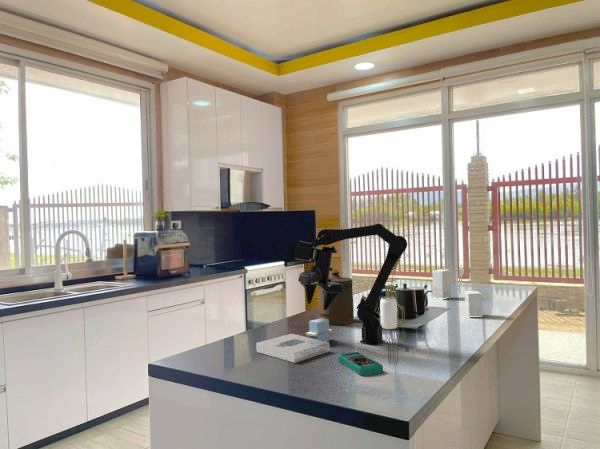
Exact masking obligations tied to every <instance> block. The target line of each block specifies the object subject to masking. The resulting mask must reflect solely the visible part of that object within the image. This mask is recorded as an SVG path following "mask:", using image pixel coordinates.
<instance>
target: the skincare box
mask: <svg viewBox="0 0 600 449" xmlns="http://www.w3.org/2000/svg"><path fill="white" fill-rule="evenodd" d="M431 272H432V298H433V297H436V298H446V297H450V296H451V297H452V290H451V288H452V286H451V285H452V284H451V280H452V279H451V269H444V268H440V269H439V268H438V269H435V270H434V269H433V270H432V271H431Z"/></svg>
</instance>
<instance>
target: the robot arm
mask: <svg viewBox="0 0 600 449" xmlns="http://www.w3.org/2000/svg"><path fill="white" fill-rule="evenodd" d="M369 236H371V237H372V236H378V238H380V239H381V240H383V241H385V243H387V244H388V250H387V253H386V257H385V259H384V261H383V264H382V266H381V268H380V270H379V272H378V274H377V276H376V278H375V280H374V282H373V285H372V287H371V288H370V291H369V293H368V294H367V295H366V296H365V295H362V296H361V298H360V301H359V303H358V304H357V306H356V309H357V311H356V315H357V319H359V320H360V321H361V323H362V326H361V340H359V343H361V344H362V343H363V344H366V345H372V346H377V345H379V344H383V343H385V342H386V340H385V339H383V328H382V325H381V316H380V314H379V313H378V312H377V311H376V309H377V306H378V301H379V298H380V295H381V294H382V291H383V290H384V287H385V285H386V283H387V281H388V280H389V278H390V275H391V272H392V271H393V268H394V267H395V265H396V264H397V262H398V261H399V259H400V258H401V257H402V256H403V254H404V253H405V251H406V249H407V248H408V242H407V239H406V238H405V236H403V235H396V234H395V233H394V232H392V231H391V230H389V229H388V228H387V227H385V226H384V225H383V224H382V223H375V224H372V225H371V224H370V225H363V226H357V227H349V228H345V229H341V228H323V229H320V230H319V232H318V233H317V237H316V238H315V239H314V240H313V241H312V242H306V241H304V240H298V241H297V244H296V247H295V250H294V255H293V256H294V260H297V261H298V260H299V261H305V262H311V261H312V260H314V264H312V265H311V266H310V269H309V270H308V269H307V270H304V271H302V272H300V273H298V274H299V275H298V280H297V281H298V282H299V283H300V285H301V286H302V287H303V288H304V291H305V296H306V302H307V304H311V303H312V300H313V298H314V294H315V292H316V290H317V286H319V285H320V286H322V287H323V289H324V291H322V292H323V294H324V305H323V309H324V310H327V308H328V307H329V305H330V304H331V302H332V301H333V299H334V298H335V297H336V296H337V294H340V292H342V290H343V286H342V284H339V283H336V282H331V279H329V277H330V273H331V272H332V271H333V270H334V269H333V267H331V265H332V257H333V254H337V253H339V250H338V249H337V247H336V246H335V245H333V246H331V247H330V246H329V245H332V244H336V243H338V242H341V241H344V240H349V239H356V238H357V239H358V238H363V237H369ZM320 246H323V247H322V248H319V247H320ZM330 271H331V272H330Z"/></svg>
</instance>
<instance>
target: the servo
mask: <svg viewBox="0 0 600 449" xmlns="http://www.w3.org/2000/svg"><path fill="white" fill-rule="evenodd" d="M331 332H333V329H332V328H330V325H329V320H327V319H322V318H320V319H319V318H316V319H312V320H309V321H308V331H307V332H305V335H306V336H307V337H308V338H313V339H317V340H322V341H326V342H330V333H331Z"/></svg>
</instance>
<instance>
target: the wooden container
mask: <svg viewBox="0 0 600 449" xmlns="http://www.w3.org/2000/svg"><path fill="white" fill-rule="evenodd" d="M330 273H331V275H330V276H329V279H331V282H336V283H339V284H342V286H343V290H342V292H340V294H337V296H336V297H335V298H334V299H333V301H332V302H331V304H330V305H329V307H328V308H327V310H324V309H323V305H324V294H323V292H322V291H324V289H323V287H322V286H320V285H318V319H320V318H322V319H327V320H329V326H330V325H332V326H337V325H338V326H342V325H348V324H352V323H354V321H355V318H354V317H355V316H354V294H353V292H354V291H353V284H354V283H353V278H351V277H345V276H344V277H342V276H340V271H339V270H338V269H332V271H331V272H330Z"/></svg>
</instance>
